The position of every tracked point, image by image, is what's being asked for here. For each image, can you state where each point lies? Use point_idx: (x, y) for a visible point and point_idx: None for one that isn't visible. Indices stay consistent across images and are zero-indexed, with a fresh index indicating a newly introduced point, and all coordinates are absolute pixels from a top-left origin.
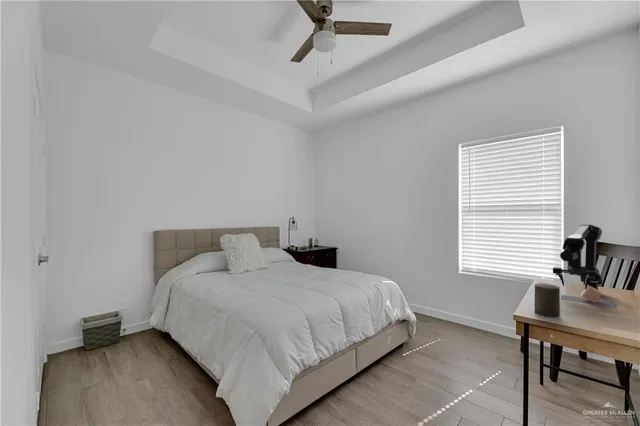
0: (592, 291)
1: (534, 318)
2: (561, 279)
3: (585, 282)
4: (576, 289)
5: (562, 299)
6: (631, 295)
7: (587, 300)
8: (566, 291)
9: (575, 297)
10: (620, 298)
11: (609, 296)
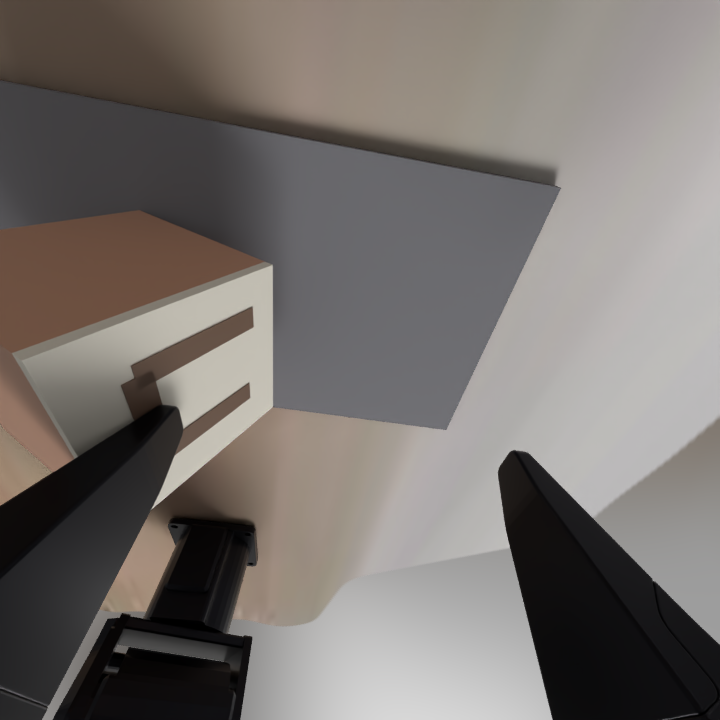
0: (21, 288)
1: None
2: (674, 623)
3: (104, 578)
4: (295, 569)
5: (531, 203)
6: None
7: None
8: (363, 525)
9: (334, 383)
10: None
11: None
